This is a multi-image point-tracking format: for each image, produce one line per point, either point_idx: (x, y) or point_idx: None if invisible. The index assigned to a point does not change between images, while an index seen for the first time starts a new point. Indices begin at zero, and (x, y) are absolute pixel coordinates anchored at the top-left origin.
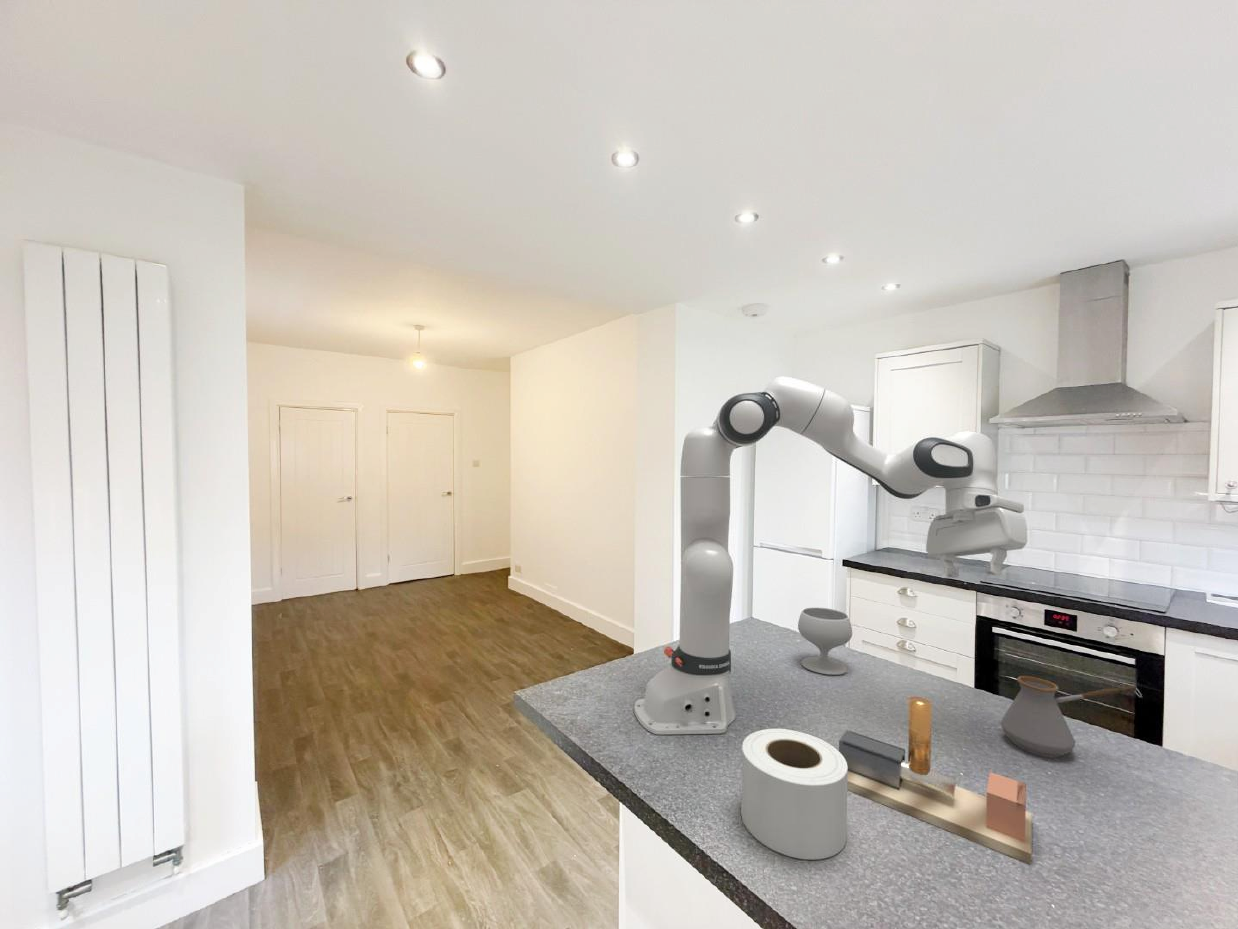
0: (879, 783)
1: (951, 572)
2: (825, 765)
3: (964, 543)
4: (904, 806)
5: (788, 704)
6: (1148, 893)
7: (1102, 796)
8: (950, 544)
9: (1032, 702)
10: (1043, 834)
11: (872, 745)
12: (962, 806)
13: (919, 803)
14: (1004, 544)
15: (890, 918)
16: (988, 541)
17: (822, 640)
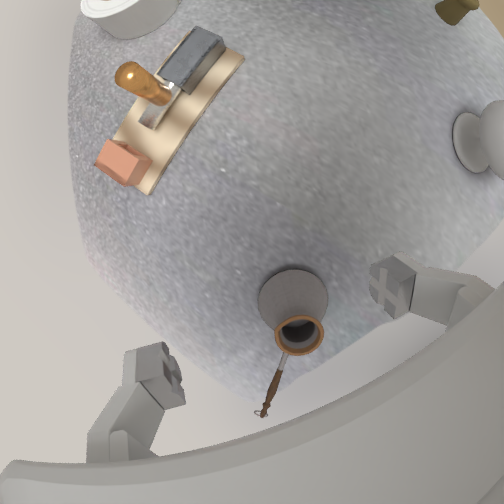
0: None
1: (382, 269)
2: (99, 3)
3: (366, 443)
4: None
5: (362, 39)
6: (94, 230)
7: (203, 293)
8: (490, 359)
9: (284, 310)
10: (137, 195)
11: (186, 54)
12: (148, 133)
13: None
14: (21, 461)
15: (70, 60)
16: (99, 497)
17: (481, 117)
